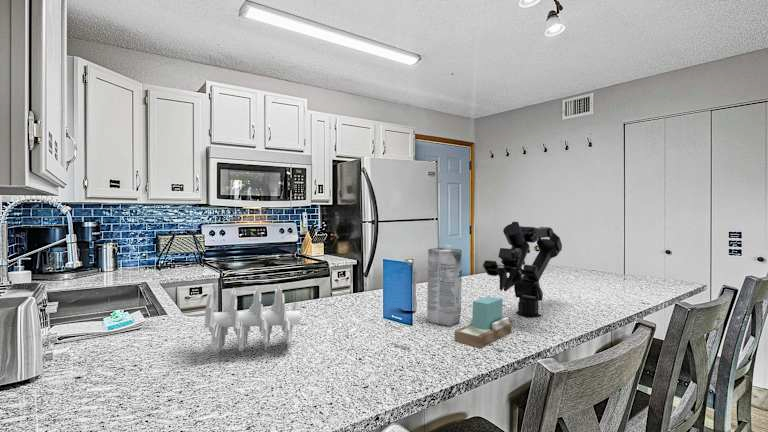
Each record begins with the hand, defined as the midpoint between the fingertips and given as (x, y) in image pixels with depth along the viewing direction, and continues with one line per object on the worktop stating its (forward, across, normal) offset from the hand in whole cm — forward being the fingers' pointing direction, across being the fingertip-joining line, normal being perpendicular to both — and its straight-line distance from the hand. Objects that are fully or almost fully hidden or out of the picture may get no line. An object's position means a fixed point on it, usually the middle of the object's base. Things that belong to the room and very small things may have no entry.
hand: (502, 290), depth 133 cm
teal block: (+14, 0, 0) cm, 14 cm away
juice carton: (+15, -18, +3) cm, 23 cm away
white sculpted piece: (+57, -41, -38) cm, 80 cm away
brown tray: (+17, 0, 0) cm, 17 cm away
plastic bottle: (+14, -35, +4) cm, 38 cm away
